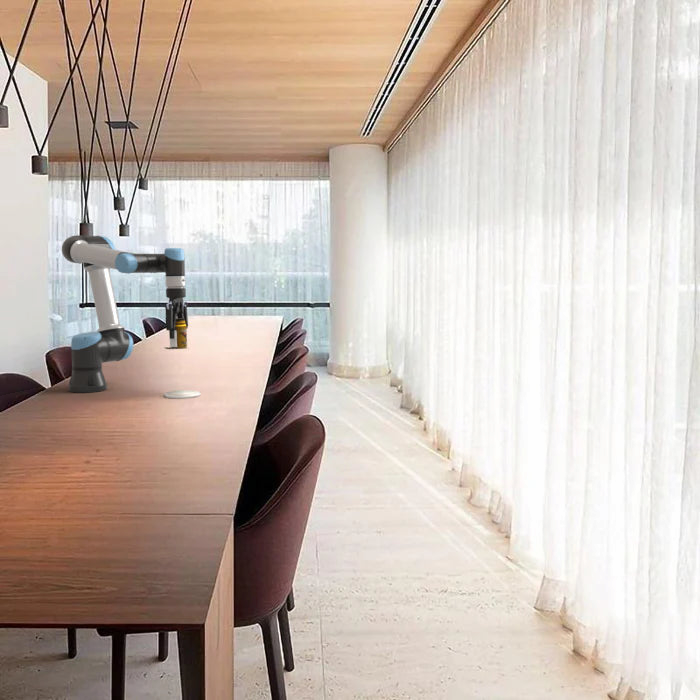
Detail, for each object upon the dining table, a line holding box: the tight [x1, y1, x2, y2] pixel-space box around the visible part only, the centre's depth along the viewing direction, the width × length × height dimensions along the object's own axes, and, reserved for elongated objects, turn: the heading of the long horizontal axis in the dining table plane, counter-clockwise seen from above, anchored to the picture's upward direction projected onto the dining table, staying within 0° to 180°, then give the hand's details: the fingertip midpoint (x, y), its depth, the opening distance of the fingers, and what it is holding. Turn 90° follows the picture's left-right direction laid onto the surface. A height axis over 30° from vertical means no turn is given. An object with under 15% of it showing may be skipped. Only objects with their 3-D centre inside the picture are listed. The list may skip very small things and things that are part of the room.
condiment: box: [164, 318, 188, 350], centre depth 309 cm, size 7×8×12 cm
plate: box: [163, 389, 201, 400], centre depth 310 cm, size 14×14×1 cm
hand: (177, 345), depth 310 cm, fingers closed on condiment, 6 cm apart
